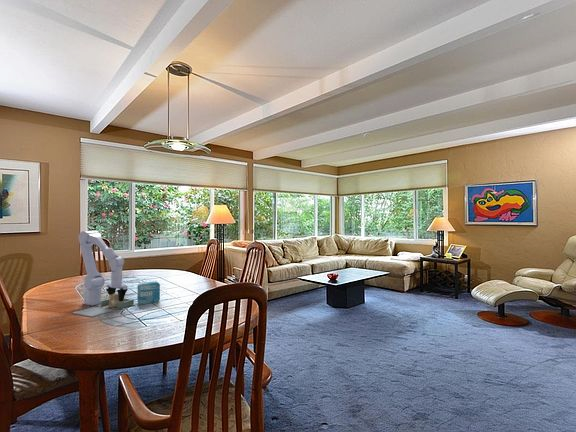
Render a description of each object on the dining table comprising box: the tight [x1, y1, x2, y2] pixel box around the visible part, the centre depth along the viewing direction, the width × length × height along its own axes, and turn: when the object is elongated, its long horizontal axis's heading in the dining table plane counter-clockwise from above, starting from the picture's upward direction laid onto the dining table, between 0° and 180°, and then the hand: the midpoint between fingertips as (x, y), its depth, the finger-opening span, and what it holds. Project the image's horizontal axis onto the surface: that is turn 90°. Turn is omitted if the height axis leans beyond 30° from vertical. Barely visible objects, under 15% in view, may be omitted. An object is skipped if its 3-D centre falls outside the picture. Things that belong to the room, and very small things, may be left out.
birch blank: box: [108, 292, 124, 308], centre depth 185 cm, size 4×7×7 cm, turn 156°
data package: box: [136, 281, 161, 305], centre depth 192 cm, size 12×4×12 cm, turn 124°
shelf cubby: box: [100, 297, 135, 310], centre depth 185 cm, size 15×10×3 cm, turn 66°
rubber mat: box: [72, 306, 114, 318], centre depth 172 cm, size 16×12×1 cm
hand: (116, 300), depth 185 cm, fingers open, 7 cm apart
